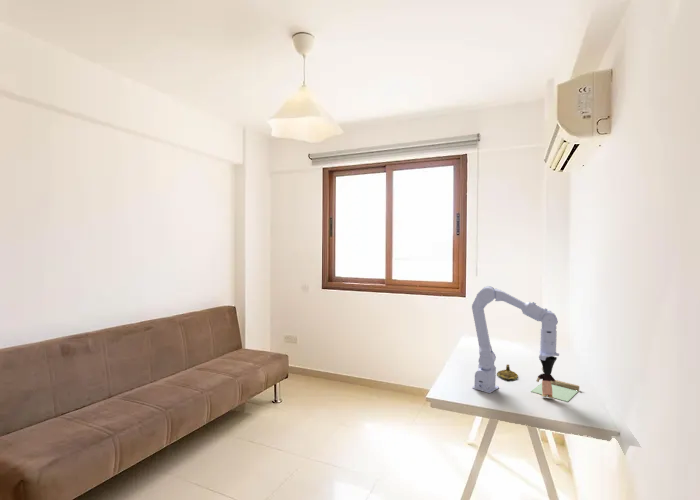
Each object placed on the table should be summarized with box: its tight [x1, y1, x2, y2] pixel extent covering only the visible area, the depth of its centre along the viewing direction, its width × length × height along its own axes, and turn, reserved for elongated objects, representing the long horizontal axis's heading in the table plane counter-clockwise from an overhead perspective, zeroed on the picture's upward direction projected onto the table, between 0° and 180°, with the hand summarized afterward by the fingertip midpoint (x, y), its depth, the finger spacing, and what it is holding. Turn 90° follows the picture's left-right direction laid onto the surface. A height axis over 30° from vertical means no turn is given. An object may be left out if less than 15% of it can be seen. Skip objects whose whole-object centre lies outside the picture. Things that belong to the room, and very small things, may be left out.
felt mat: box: [530, 382, 579, 403], centre depth 158 cm, size 16×14×1 cm
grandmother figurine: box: [536, 366, 557, 399], centre depth 153 cm, size 8×4×13 cm, turn 90°
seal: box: [496, 364, 519, 382], centre depth 176 cm, size 9×5×15 cm
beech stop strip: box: [551, 379, 580, 392], centre depth 164 cm, size 2×14×2 cm, turn 45°
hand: (547, 374), depth 151 cm, fingers closed
